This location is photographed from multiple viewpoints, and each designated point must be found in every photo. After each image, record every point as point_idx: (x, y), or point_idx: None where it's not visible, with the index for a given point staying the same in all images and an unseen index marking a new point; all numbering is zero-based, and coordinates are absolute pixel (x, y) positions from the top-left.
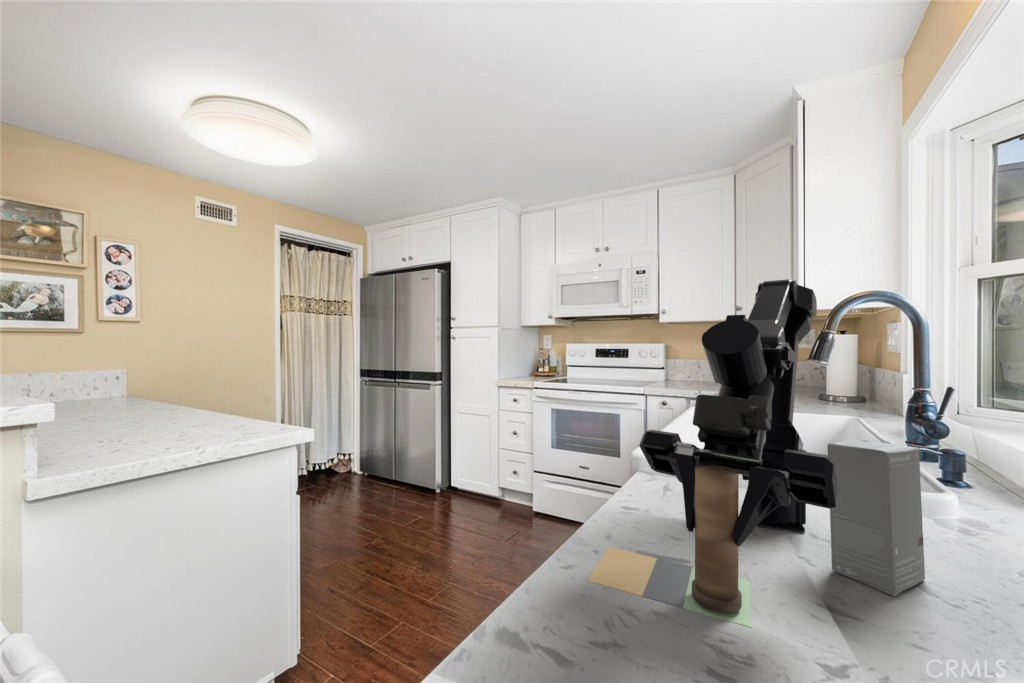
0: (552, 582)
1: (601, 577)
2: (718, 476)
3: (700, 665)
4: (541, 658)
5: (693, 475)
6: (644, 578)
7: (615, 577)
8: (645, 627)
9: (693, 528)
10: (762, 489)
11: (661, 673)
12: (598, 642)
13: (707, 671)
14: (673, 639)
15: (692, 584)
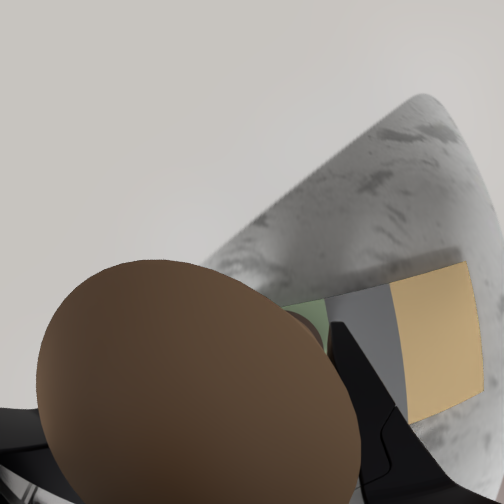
0: (493, 249)
1: (457, 286)
2: (105, 293)
3: (273, 221)
4: (403, 127)
5: (374, 501)
6: (407, 340)
7: (443, 303)
8: (359, 244)
9: (327, 352)
10: (38, 413)
11: (305, 179)
12: (384, 178)
13: (263, 217)
14: (318, 245)
15: (320, 339)
